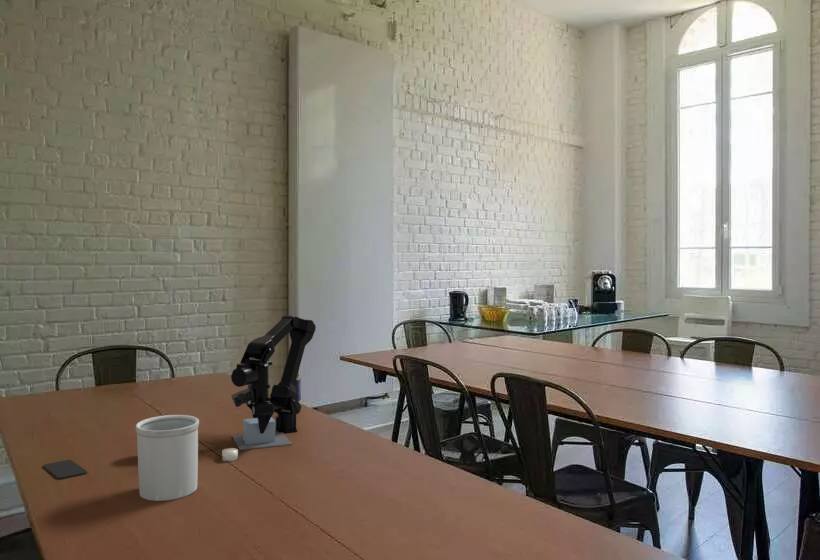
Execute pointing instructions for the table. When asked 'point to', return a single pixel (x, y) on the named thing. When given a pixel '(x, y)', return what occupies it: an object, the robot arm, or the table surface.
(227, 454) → the pebble
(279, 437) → the mat
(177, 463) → the utensil holder
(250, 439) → the grey rectangular block
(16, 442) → the table surface
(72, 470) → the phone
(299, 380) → the flask
